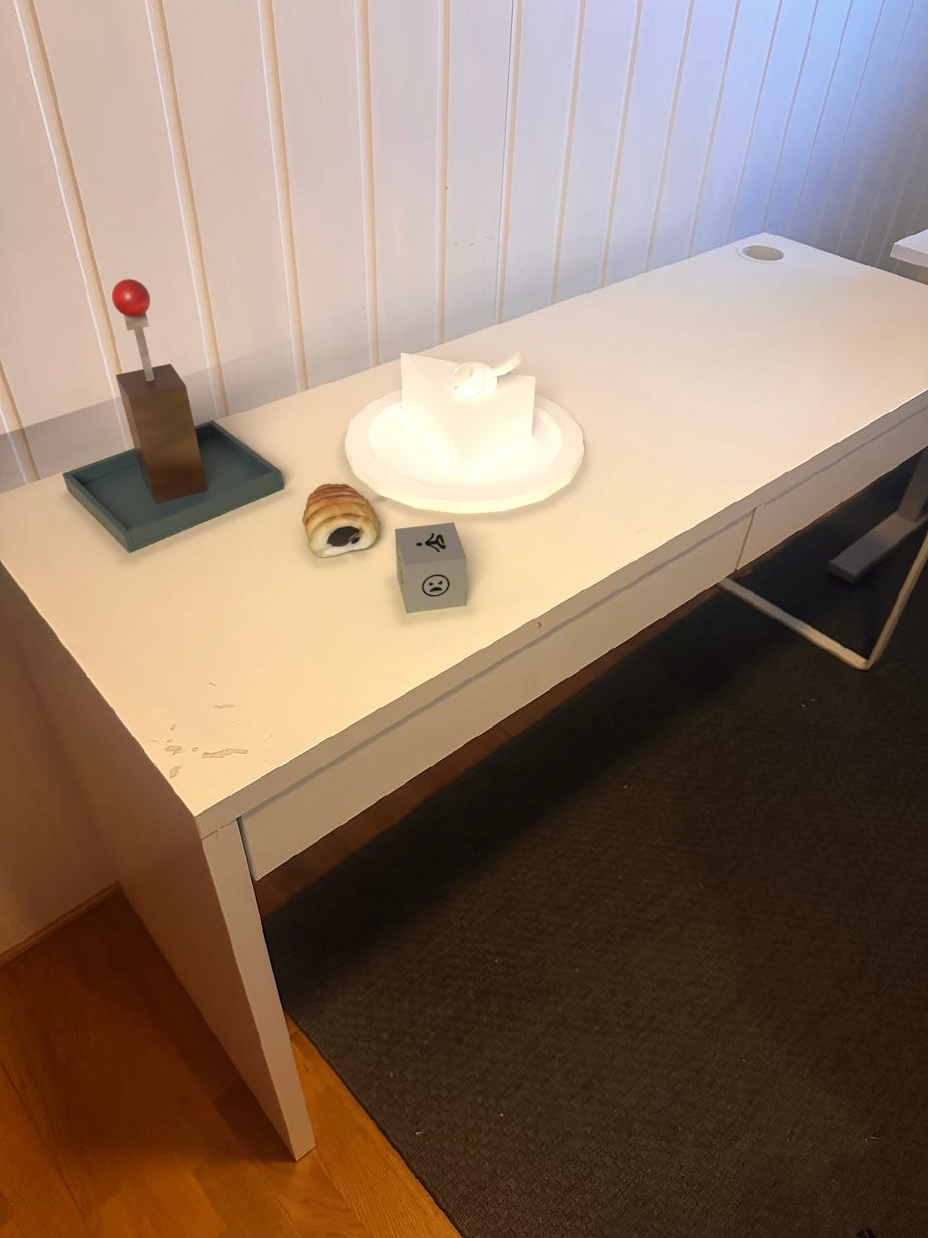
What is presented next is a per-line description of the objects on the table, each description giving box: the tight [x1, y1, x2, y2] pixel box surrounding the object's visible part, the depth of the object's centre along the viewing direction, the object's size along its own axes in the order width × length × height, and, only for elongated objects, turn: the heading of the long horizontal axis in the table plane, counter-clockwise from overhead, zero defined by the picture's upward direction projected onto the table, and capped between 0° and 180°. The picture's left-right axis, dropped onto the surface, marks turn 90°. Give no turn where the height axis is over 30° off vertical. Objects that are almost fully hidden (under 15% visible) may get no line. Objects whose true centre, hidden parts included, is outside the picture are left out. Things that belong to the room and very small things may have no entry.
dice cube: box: [394, 522, 467, 614], centre depth 75 cm, size 5×5×5 cm
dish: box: [344, 351, 585, 515], centre depth 90 cm, size 25×25×11 cm
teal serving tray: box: [62, 419, 285, 554], centre depth 87 cm, size 16×13×2 cm
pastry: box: [301, 483, 381, 558], centre depth 82 cm, size 9×7×4 cm
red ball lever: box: [111, 278, 207, 504], centre depth 80 cm, size 5×5×20 cm
